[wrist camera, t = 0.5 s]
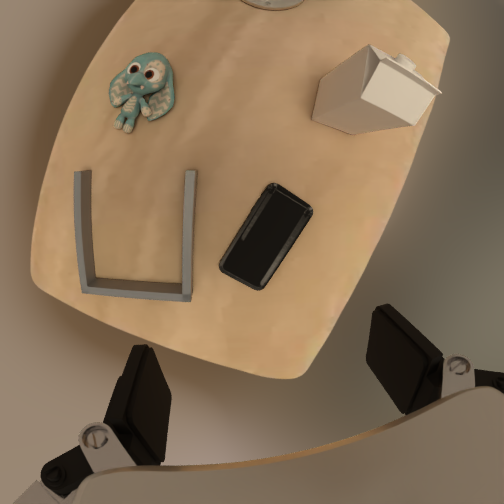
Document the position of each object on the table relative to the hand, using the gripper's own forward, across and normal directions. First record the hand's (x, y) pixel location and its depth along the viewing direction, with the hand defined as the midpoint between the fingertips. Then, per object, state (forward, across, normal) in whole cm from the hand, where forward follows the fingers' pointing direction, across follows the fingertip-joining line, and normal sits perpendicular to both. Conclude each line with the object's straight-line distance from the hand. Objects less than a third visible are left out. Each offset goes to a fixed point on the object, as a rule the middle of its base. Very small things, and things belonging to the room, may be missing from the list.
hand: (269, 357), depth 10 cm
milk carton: (+30, -17, -15) cm, 38 cm away
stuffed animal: (+30, +10, -20) cm, 38 cm away
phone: (+30, -4, +4) cm, 31 cm away
